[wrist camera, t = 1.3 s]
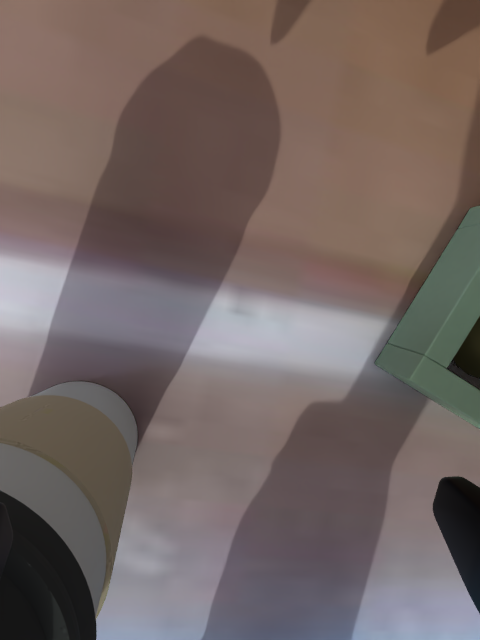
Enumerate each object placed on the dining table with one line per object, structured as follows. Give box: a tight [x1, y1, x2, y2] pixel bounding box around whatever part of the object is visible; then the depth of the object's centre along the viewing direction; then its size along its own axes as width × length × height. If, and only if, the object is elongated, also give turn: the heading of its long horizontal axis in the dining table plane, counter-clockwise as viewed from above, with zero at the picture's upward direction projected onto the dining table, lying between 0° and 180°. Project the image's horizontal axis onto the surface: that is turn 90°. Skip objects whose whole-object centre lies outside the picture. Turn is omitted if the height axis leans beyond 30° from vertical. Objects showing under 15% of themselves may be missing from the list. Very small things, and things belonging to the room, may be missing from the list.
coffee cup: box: [0, 381, 138, 640], centre depth 14 cm, size 9×9×15 cm
